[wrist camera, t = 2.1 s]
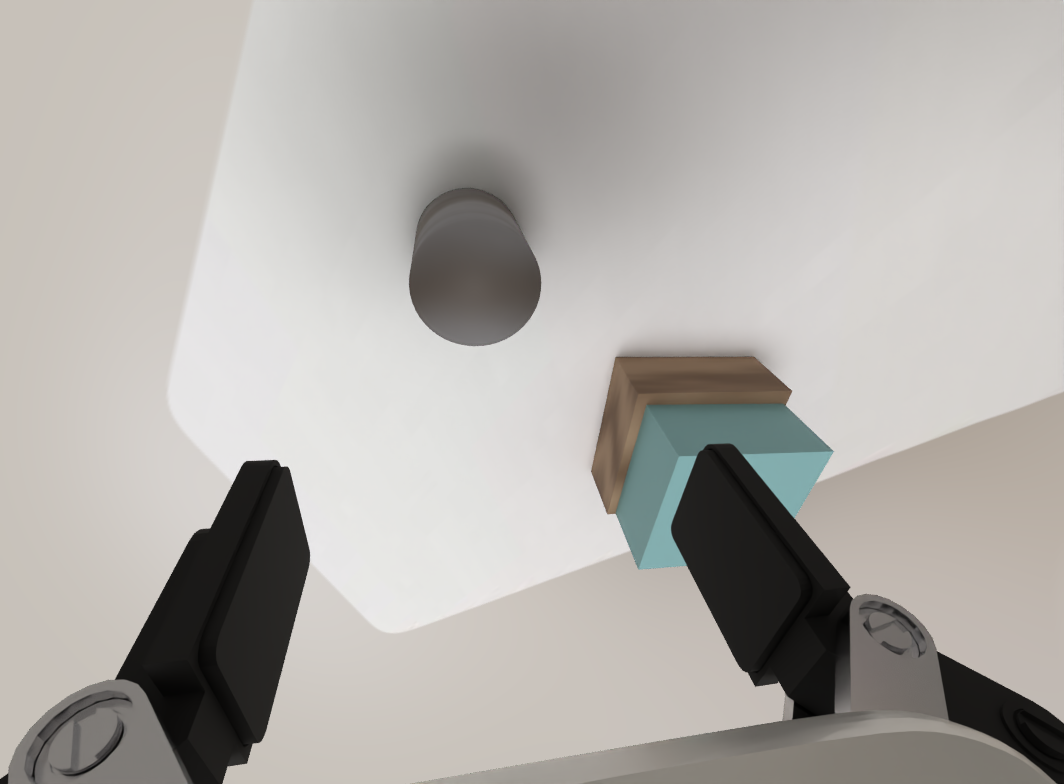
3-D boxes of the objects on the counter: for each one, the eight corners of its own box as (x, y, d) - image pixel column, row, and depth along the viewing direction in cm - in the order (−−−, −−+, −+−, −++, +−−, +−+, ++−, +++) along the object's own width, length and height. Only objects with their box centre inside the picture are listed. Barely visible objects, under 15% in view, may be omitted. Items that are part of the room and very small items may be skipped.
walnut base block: (614, 355, 33) (638, 393, 29) (751, 354, 35) (792, 391, 31) (590, 468, 39) (607, 514, 35) (708, 463, 41) (738, 505, 37)
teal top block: (646, 404, 30) (678, 456, 26) (783, 403, 32) (833, 451, 28) (615, 512, 35) (638, 569, 31) (734, 506, 37) (770, 559, 33)
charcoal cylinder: (413, 184, 25) (405, 216, 19) (524, 192, 26) (548, 224, 20) (417, 290, 28) (412, 345, 22) (515, 294, 29) (534, 346, 24)
